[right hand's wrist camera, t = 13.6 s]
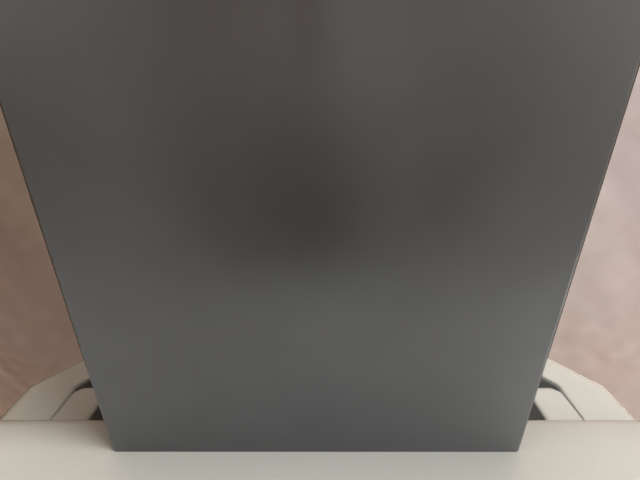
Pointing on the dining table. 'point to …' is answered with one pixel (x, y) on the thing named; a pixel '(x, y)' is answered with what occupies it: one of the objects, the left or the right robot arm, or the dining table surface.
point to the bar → (315, 207)
